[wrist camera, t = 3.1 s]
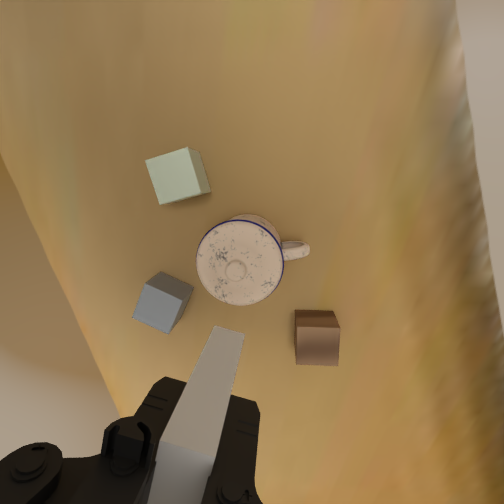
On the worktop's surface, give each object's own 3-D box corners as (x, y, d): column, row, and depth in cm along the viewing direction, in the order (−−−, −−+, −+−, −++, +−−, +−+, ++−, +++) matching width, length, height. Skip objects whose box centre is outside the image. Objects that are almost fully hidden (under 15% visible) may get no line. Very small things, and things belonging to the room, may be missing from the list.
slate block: (160, 271, 41) (144, 283, 36) (194, 286, 41) (182, 300, 36) (148, 302, 42) (131, 317, 37) (181, 317, 42) (168, 334, 37)
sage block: (162, 163, 38) (145, 160, 33) (199, 152, 37) (187, 147, 32) (174, 202, 39) (159, 204, 34) (211, 191, 38) (201, 192, 33)
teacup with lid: (219, 283, 40) (196, 322, 29) (208, 216, 38) (178, 230, 27) (309, 273, 39) (321, 310, 28) (301, 204, 37) (311, 212, 26)
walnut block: (295, 309, 40) (297, 326, 35) (332, 310, 40) (340, 328, 35) (294, 343, 41) (296, 364, 37) (331, 344, 41) (338, 366, 36)
